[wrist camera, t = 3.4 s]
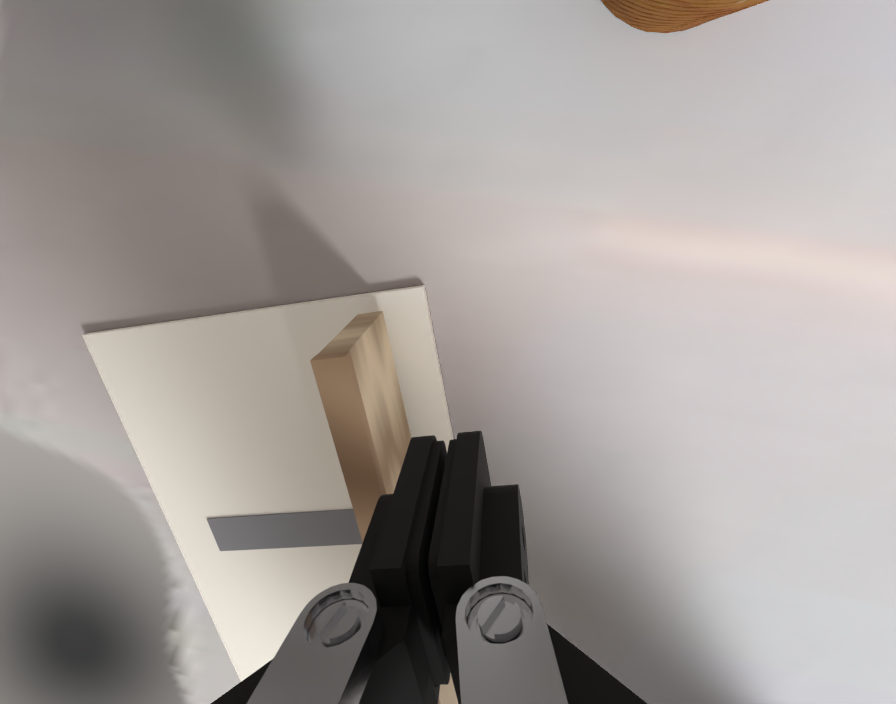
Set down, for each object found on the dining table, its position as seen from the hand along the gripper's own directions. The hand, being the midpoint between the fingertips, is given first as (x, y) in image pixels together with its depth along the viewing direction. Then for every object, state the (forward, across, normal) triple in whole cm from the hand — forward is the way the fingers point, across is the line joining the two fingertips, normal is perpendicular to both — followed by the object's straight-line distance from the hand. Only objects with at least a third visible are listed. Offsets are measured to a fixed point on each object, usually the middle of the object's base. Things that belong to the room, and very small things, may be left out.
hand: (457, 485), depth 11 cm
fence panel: (+11, +5, +4) cm, 12 cm away
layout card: (+12, +11, +11) cm, 20 cm away
